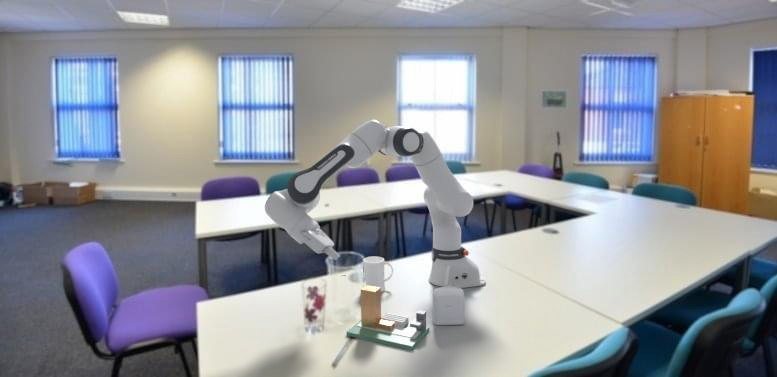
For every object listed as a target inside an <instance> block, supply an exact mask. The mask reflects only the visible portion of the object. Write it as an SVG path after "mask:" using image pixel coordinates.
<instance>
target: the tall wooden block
mask: <svg viewBox="0 0 777 377" xmlns="http://www.w3.org/2000/svg"><path fill="white" fill-rule="evenodd" d="M381 317H382V292H381V287H375V286H369V285H366V286H365V287H364V286H363V287H362V288H360V318H361V319H360V320H361V325H362V326H366V327H371V328H380V329H384V330H389V331H391V330H392V329H393V328H394V327H395V322H392V321H387V320H382V319H381Z"/></svg>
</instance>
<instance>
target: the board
mask: <svg viewBox="0 0 777 377" xmlns="http://www.w3.org/2000/svg"><path fill="white" fill-rule="evenodd" d="M381 319H382V320H387V321H392V322H395V327H394V328H393V329H392V330H391V331H389V330H384V329H380V328H371V327H366V326H362V325H361V319H360V320H359V321H358V322H356V324H354V325H353V326H352V327H351V328H349V329H348V330H346V336H347V337H353V338H357V339H361V340H366V341H369V342H370V341H371V342H374V343H379V344H384V345H389V346H392V347H396V348H400V349H401V348H402V349H407V350H411V351H413V350H414V349H415V348H416V346H417V345H418V344H419V343H420V342H421V341H422V339H423V338H424V337H425V335H427V334H428V332H429V331H430V326H428V325H427V311H426V310H422V309H421V310H420V309H419V310H417V312H416V317H415V318H414V319H413V320H412V321H411V322H410V321H409V316H405V315H398V314H395V313H390V312H389V313H388V312H385V314H383V315H381Z"/></svg>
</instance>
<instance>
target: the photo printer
mask: <svg viewBox="0 0 777 377" xmlns="http://www.w3.org/2000/svg"><path fill="white" fill-rule="evenodd" d="M463 289H464V288H458V287H450V286H447V287H442V286H439V287H436V288H434V289H433V293H432V324H433V325H435V326H455V325H457V326H458V325H464V323H465V293H464V290H463Z"/></svg>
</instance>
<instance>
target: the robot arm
mask: <svg viewBox="0 0 777 377" xmlns="http://www.w3.org/2000/svg"><path fill="white" fill-rule="evenodd" d="M376 153H380V154H381V155H384V156H389V157H395V158H398V157H403V158H407V157H410V159H411V161H412V163H413V165H414V167H415V170H416V171H417V172H418V175H419V177H420V178H421V182H422V183H424V185H426V186H427V187H426V188H425V190H424V191H423V200H424V202H425V204H426V206H427V208H428V211H429V215H430V219H431V225H432V247H431V261H432V263H431V268H430V269H431V270H430V275H429V278H428V281H429V283H431V284H433V285H434V286H439V287H447V286H450V287H458V288H461V289H464V288H472V287H482V286H485V285H486V279H485V277H484V275H482V274H481V273H480V269H479V267H478V265H477V264H476V263H475V261H473V260H472V259H471V258H469V257H468V256H469V254H470V252H469V250H467V249H466V248H465V247H464V246H463V245H462V227H461V226H460V224H459V222H458V219H457V217H458V218H459V217H462V218H463V217H466V216H467V215H469V214H470V213H471V212H472V210H473V208H474V198H473V196H472V195H471V194H470V193H469V192H468V191H467V190H466V189H464V187H463V185H462V184H461V183H460V182H459V180H458V179H457V178H456V177H455V175H454V174H453V173H452V171H451V169H450V168H449V167H448V164H447V162H446V160H445V158H444V157H443V154H442V152H441V150H440V148H439V146H438V144H437V143H436V141H435V139H434V138H433V136H431V134H430V133H429V132H428V131H427V130H422V129H419V130H416V129H415V128H413V127H412V126H411V127H410V126H401V125H393V126H384V124H383V123H381V122H380V121H378V120H377V119H370V120H368V121H365V122H364V123H362V124H361V125H359V126H357V127H356V128H355V129H354V130H352V131H351V132H350V133H349V134H347V136H346V137H344V139H342V140H341V141H340V142H339V144H338V145H337V146H336V147H335V148H334V149H333V150H331V151H330V152H328V153H327V154H326V155H325V156H324V157H322V158H321V159H320V160H318V161H317V162H316V163H314V164H313V165H312V166H311V167H308V168H306V169H304V170H300V171H298V172H296V173H294V174H293V175H292V176H291V177H290V178H289V179H288V181H287V186H286V188H285V189H283V190H277V191H276V190H275V191H274V192H272V193H271V194H269V197H268V198H267V200H266V202H265V205H264V212H265V213H266V214H267V216H268V218H270V219H271V221H273V222H274V224H276V225H277V226H278V227H280V228H281V229H284V230H285V231H286V232H287V234H288V235H289V236H290V237H291V238H293V240H295V241H296V242H297V243H298V244H299V245H303V244H306V245H307V246H308V247H309V248H310V249H311V250H312V251H314V253H316V254H318V255H320V254H323V253H325V254H326V255H327V256H329V257H330V258H332V259H334V260H335V261H336V260H338V259H339V258H340V256H341V255H340V254H339V253H338V252H337V251H336V250H335V249H334V248H333V247H334V246H335V243H334V241H333V240H332V239H331V238H330V237H329V236H328V235H327V234H326V233H325V232H324V231H323V230H322V229H321V226H320V225H319V223H318V222H317V221H316V220H314V218H312V217H311V216H310V215H309V214H308V213H310V212H311V211H312V210H313V209H315V208H316V207H317V206H318V204H319V203H320V198H321V196H320V195H321V189H322V186H323V185H324V184H325V183H326V182H327V181H328V180H329V179H331V178H332V177H333V175H335V174H336V173H338V172H339V171H340V170H341V169H344V168H350V169H357V168H359V167H361V166H362V165H364V164H365V163H366V162H368V161H369V160H370V159H371V158H372V157H373V156H374V155H375V154H376Z"/></svg>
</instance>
